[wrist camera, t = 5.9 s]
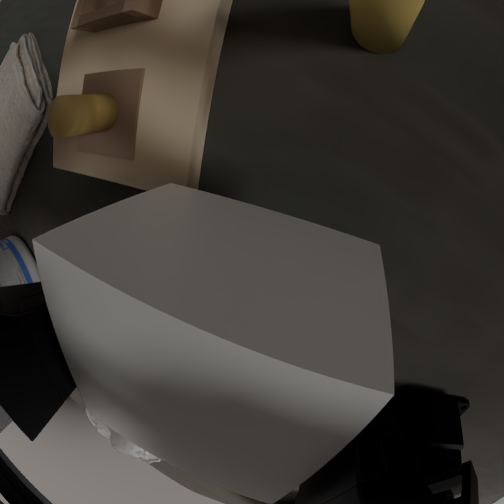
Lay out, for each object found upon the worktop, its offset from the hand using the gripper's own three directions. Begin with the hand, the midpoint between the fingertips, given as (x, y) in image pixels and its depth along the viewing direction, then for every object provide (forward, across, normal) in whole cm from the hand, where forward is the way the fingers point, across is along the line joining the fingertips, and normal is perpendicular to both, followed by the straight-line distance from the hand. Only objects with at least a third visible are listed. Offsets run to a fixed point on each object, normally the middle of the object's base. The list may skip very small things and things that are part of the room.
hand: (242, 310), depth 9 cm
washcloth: (+7, +29, -4) cm, 30 cm away
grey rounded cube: (0, 0, 0) cm, 0 cm away
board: (+6, +11, -9) cm, 16 cm away
